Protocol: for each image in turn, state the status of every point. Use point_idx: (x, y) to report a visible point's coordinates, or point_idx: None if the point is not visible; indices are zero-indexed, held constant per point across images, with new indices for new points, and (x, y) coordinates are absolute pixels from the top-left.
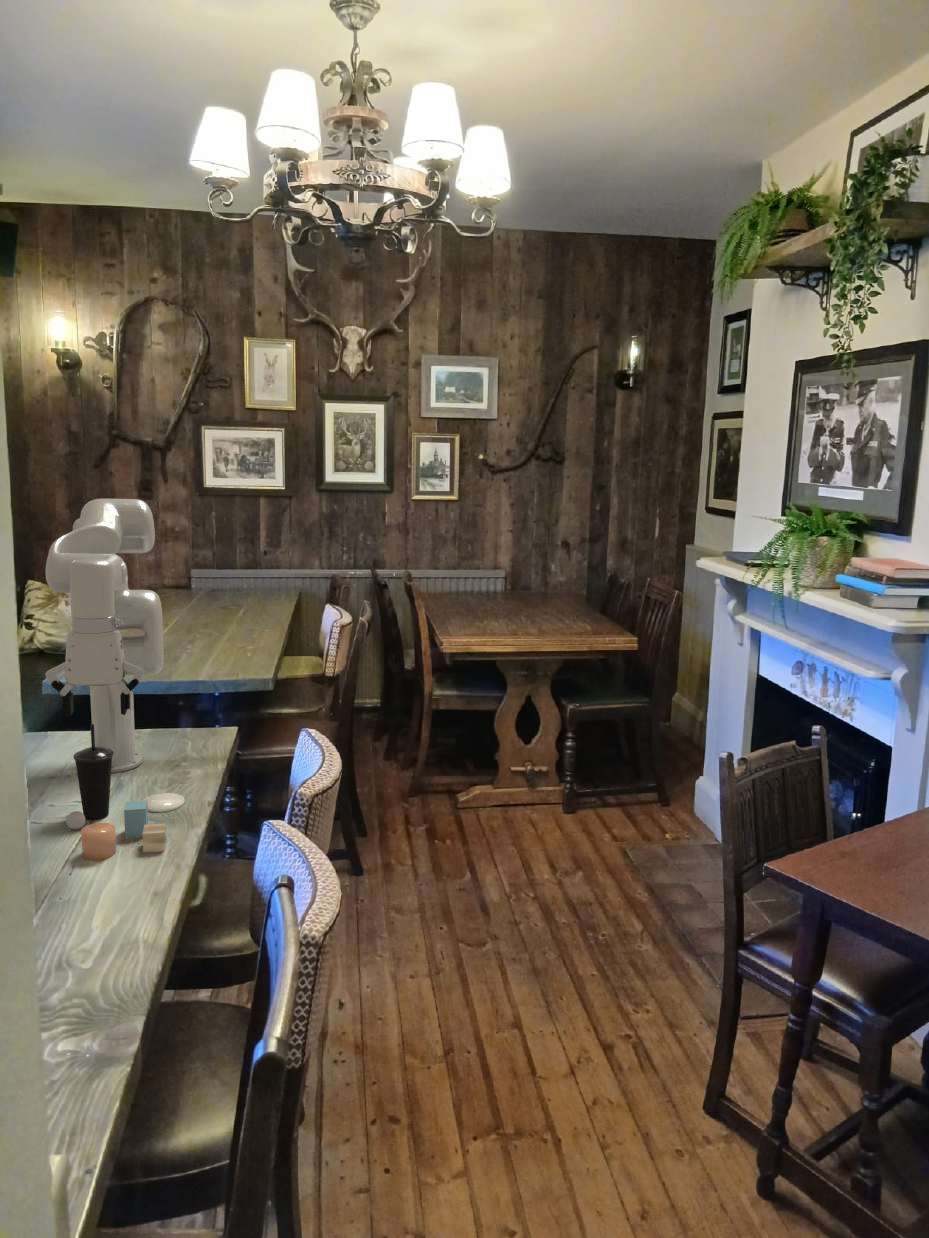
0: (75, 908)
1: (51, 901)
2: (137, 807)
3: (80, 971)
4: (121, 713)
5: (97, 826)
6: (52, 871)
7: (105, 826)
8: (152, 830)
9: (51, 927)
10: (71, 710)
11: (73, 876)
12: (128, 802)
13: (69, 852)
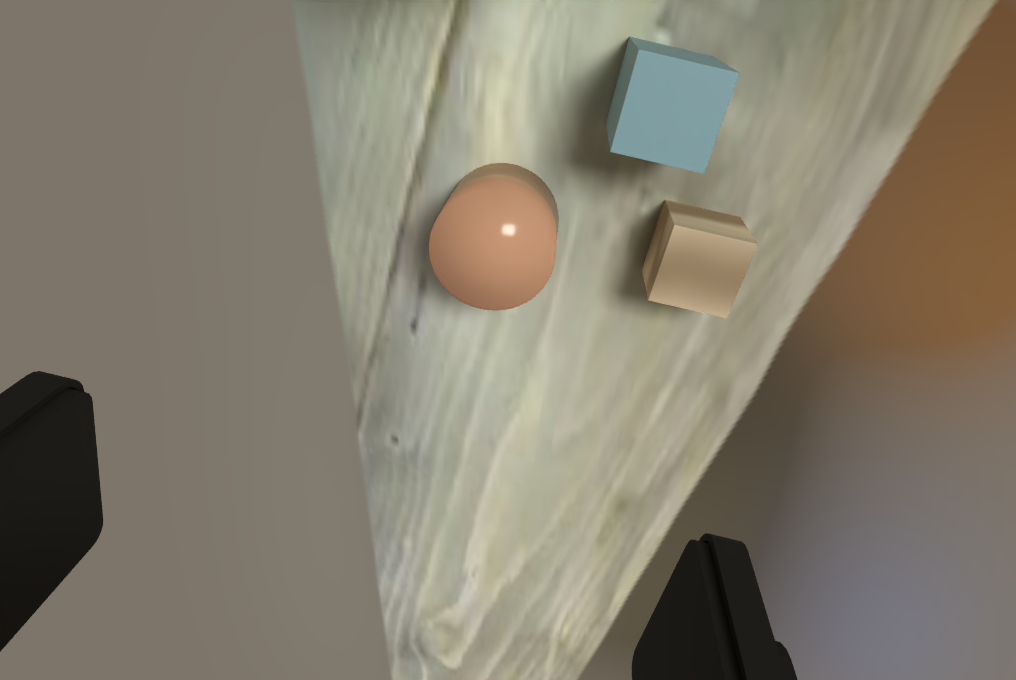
0: (429, 493)
1: (373, 444)
2: (673, 144)
3: (440, 671)
4: (637, 667)
5: (490, 224)
6: (361, 289)
7: (520, 237)
8: (690, 287)
9: (382, 540)
10: (66, 517)
11: (422, 342)
12: (647, 60)
13: (405, 172)
